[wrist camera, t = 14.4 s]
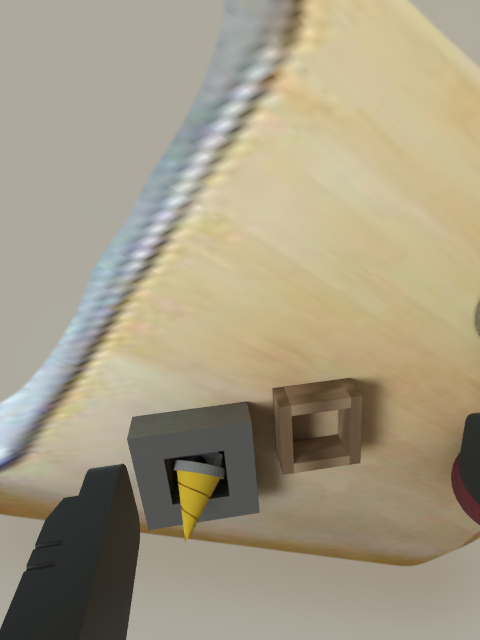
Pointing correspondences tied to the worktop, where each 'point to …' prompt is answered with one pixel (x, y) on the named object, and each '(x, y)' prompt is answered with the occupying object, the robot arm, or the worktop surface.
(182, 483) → the drill bit
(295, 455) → the wooden square frame
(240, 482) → the hub plate
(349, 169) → the worktop surface
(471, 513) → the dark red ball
